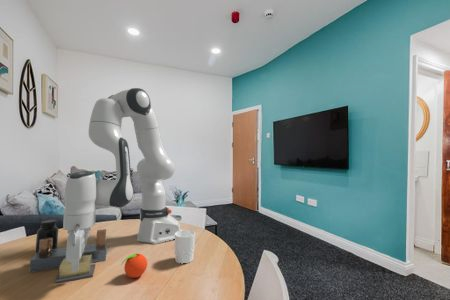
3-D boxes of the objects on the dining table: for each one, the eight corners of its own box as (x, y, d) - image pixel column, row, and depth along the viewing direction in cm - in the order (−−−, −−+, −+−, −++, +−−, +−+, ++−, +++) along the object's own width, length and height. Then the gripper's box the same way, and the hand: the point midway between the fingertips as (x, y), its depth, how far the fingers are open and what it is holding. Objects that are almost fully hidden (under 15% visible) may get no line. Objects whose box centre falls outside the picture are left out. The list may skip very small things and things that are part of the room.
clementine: (122, 286, 65) (123, 261, 65) (118, 275, 70) (119, 253, 71) (149, 277, 69) (150, 255, 70) (143, 268, 75) (144, 247, 75)
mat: (95, 265, 76) (95, 263, 76) (92, 276, 69) (92, 274, 69) (60, 271, 72) (60, 269, 72) (53, 284, 65) (54, 282, 65)
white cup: (198, 257, 84) (198, 231, 85) (188, 266, 77) (189, 238, 78) (180, 254, 87) (181, 229, 88) (169, 262, 80) (170, 235, 80)
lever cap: (91, 266, 75) (91, 254, 75) (89, 273, 70) (90, 260, 70) (63, 271, 71) (63, 258, 71) (59, 278, 67) (59, 265, 67)
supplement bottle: (44, 255, 83) (46, 224, 83) (30, 253, 84) (32, 222, 85) (61, 248, 90) (63, 219, 90) (48, 247, 91) (49, 218, 92)
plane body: (106, 251, 87) (108, 226, 88) (105, 260, 80) (106, 233, 81) (37, 262, 78) (39, 234, 78) (29, 272, 71) (31, 241, 71)
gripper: (86, 229, 63) (84, 277, 63) (94, 212, 82) (92, 249, 81) (60, 232, 61) (58, 282, 60) (74, 214, 79) (72, 252, 78)
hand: (77, 263), depth 71 cm, fingers open, 8 cm apart
